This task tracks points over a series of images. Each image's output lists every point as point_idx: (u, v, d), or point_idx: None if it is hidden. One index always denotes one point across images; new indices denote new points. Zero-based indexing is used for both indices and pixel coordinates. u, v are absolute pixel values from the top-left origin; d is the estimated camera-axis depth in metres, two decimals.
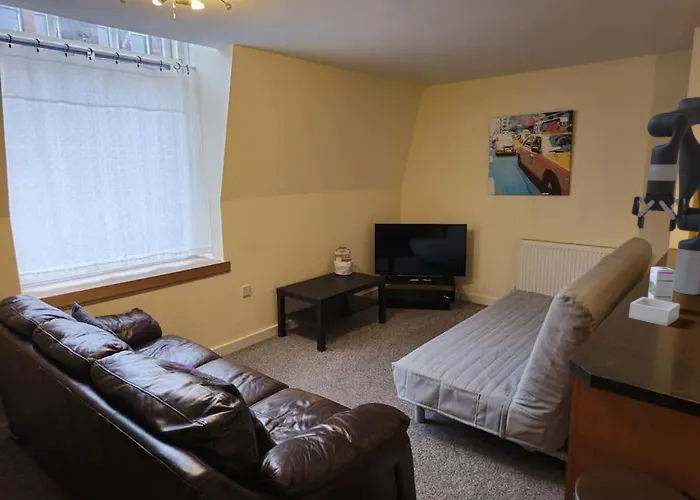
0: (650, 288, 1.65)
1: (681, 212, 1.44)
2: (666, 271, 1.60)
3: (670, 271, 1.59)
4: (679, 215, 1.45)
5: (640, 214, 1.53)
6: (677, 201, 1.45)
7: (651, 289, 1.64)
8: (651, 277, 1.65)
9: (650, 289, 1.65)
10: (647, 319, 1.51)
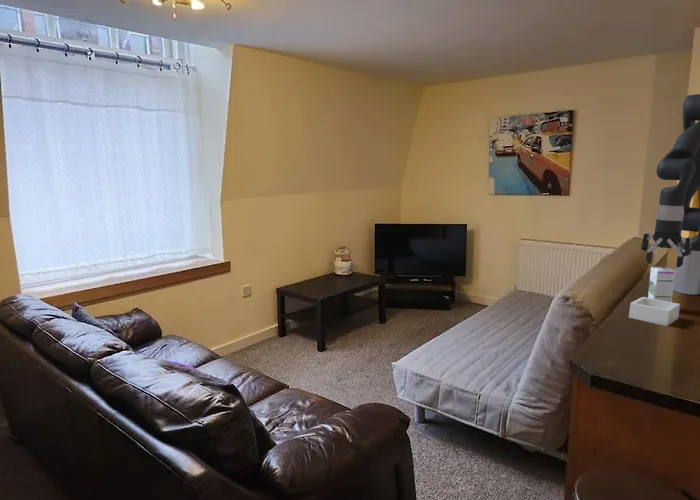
0: (650, 288, 1.65)
1: (688, 250, 1.55)
2: (666, 271, 1.60)
3: (670, 271, 1.59)
4: (686, 253, 1.56)
5: (649, 250, 1.64)
6: (684, 240, 1.56)
7: (651, 289, 1.64)
8: (651, 277, 1.65)
9: (650, 289, 1.65)
10: (647, 319, 1.51)
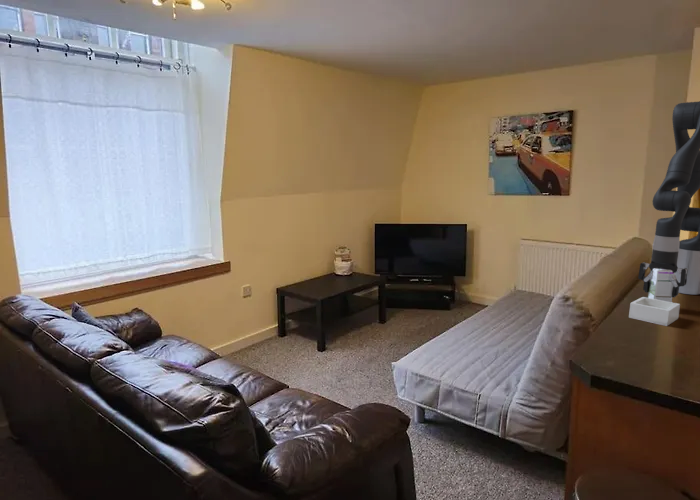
0: (650, 288, 1.65)
1: (683, 281, 1.57)
2: (666, 271, 1.60)
3: (670, 271, 1.59)
4: (681, 283, 1.58)
5: (646, 279, 1.66)
6: (680, 271, 1.58)
7: (651, 289, 1.64)
8: None
9: (650, 289, 1.65)
10: (647, 319, 1.51)
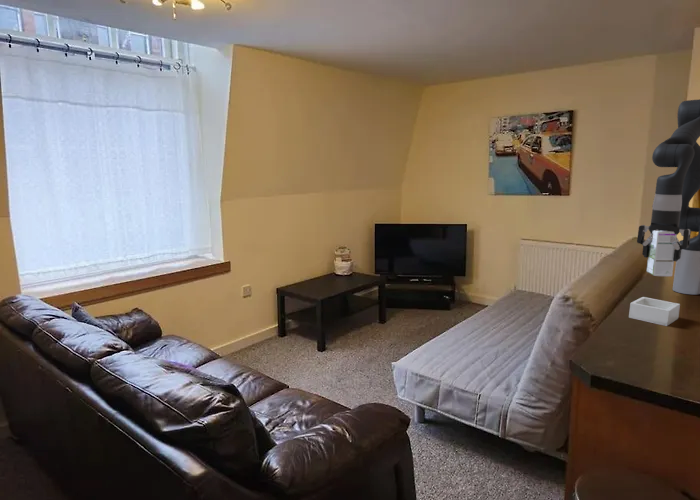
0: (650, 252, 1.52)
1: (686, 243, 1.44)
2: (667, 233, 1.47)
3: (671, 232, 1.47)
4: (683, 246, 1.45)
5: (645, 243, 1.53)
6: (682, 232, 1.45)
7: (651, 253, 1.52)
8: None
9: (650, 253, 1.52)
10: (647, 319, 1.51)
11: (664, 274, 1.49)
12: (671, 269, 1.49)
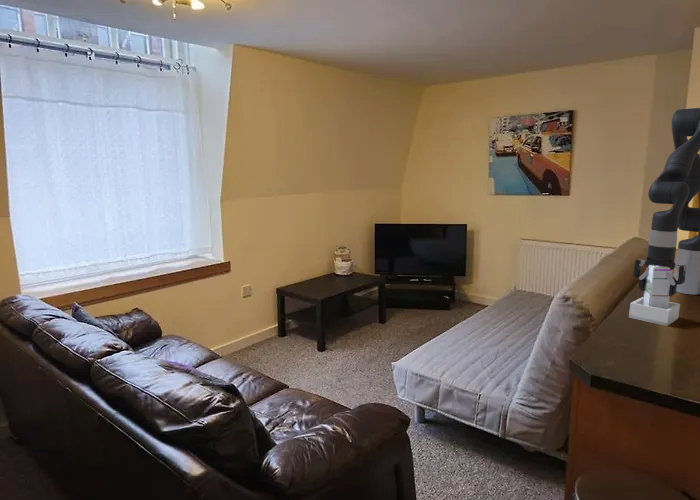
0: (646, 286, 1.55)
1: (681, 279, 1.46)
2: (663, 268, 1.49)
3: (667, 268, 1.49)
4: (679, 281, 1.47)
5: (641, 277, 1.55)
6: (678, 267, 1.47)
7: (647, 287, 1.54)
8: (647, 275, 1.54)
9: (646, 287, 1.54)
10: (647, 319, 1.51)
11: None
12: (666, 303, 1.51)
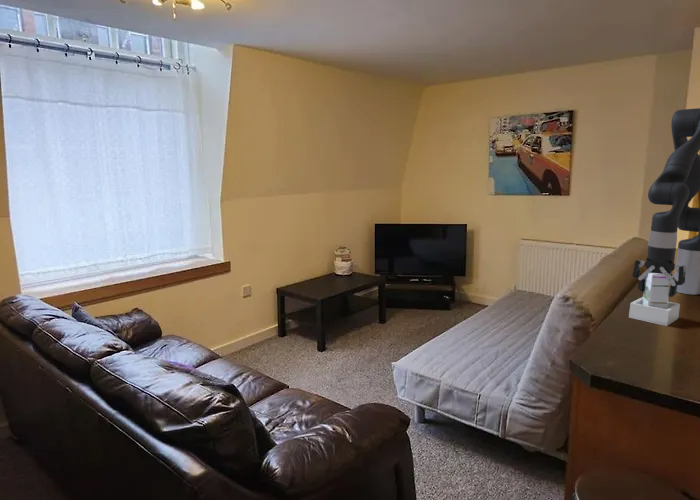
0: (645, 293, 1.55)
1: (681, 279, 1.46)
2: (661, 275, 1.50)
3: None
4: (679, 282, 1.47)
5: (641, 278, 1.55)
6: (677, 268, 1.47)
7: (646, 294, 1.54)
8: (646, 282, 1.55)
9: (645, 294, 1.55)
10: (647, 319, 1.51)
11: None
12: None
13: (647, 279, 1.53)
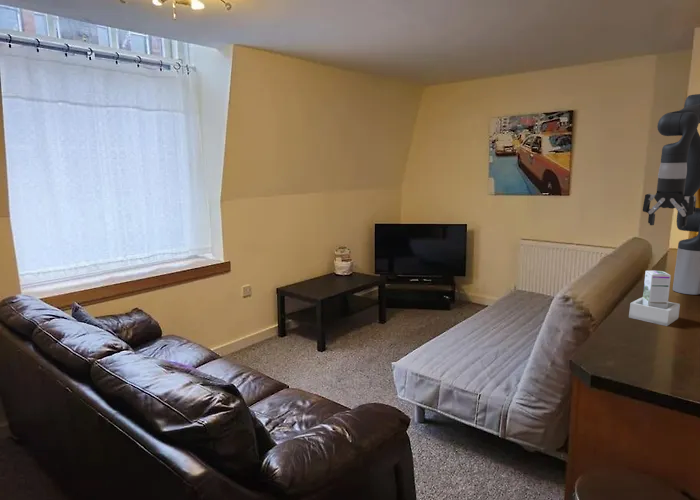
0: (644, 293, 1.55)
1: (692, 209, 1.48)
2: (661, 275, 1.50)
3: (665, 275, 1.49)
4: (690, 212, 1.48)
5: (651, 211, 1.56)
6: (687, 198, 1.49)
7: (645, 294, 1.54)
8: (645, 282, 1.55)
9: (644, 294, 1.55)
10: (647, 319, 1.51)
11: None
12: None
13: (647, 279, 1.54)
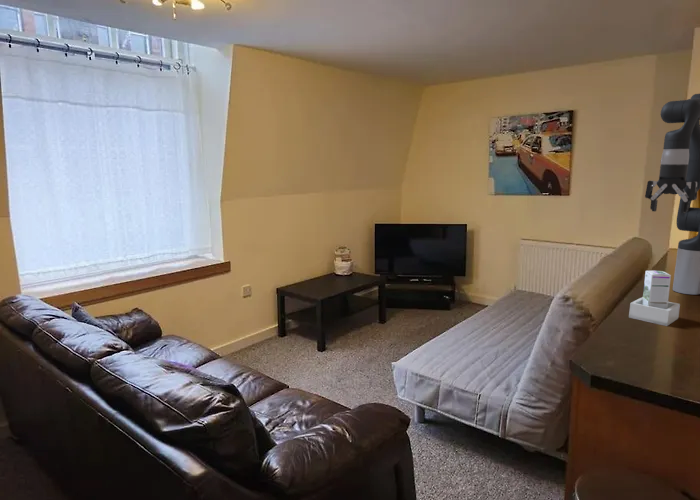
0: (644, 293, 1.55)
1: (693, 194, 1.50)
2: (661, 275, 1.50)
3: (665, 275, 1.49)
4: (691, 197, 1.51)
5: (653, 197, 1.59)
6: (689, 184, 1.51)
7: (645, 294, 1.54)
8: (646, 282, 1.55)
9: (644, 294, 1.55)
10: (647, 319, 1.51)
11: None
12: None
13: (647, 279, 1.53)
